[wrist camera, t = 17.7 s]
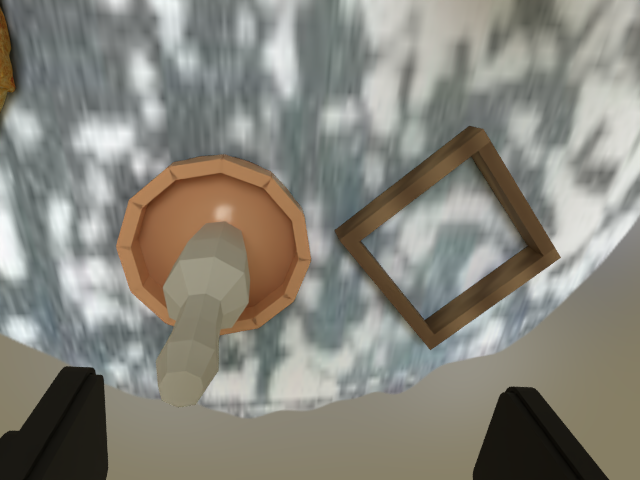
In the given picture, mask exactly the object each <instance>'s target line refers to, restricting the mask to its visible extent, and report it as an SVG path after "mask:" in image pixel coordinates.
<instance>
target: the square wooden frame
mask: <svg viewBox="0 0 640 480" xmlns="http://www.w3.org/2000/svg"><path fill="white" fill-rule="evenodd" d="M469 157H472V159H473V160H474V162H475V163H476V165H477V167H478V168H479V170H480V171H481V173H482V175H483V176H484V178H485V179H486V181H487V182H488V184H489V186H490V187H491V189H492V190H493V192H494V194H495V195H496V197H497V198H498V200H499V201H500V203H501V205H502V206H503V208H504V209H505V211H506V213H507V214H508V216H509V217H510V219H511V220H512V222H513V224H514V225H515V227H516V228H517V230H518V232H519V233H520V235H521V236H522V238H523V240H524V241H525V243H526V244H527V247H526V248H524V249H523V250H522V251H520V252H519V253H517V254H516V255H515V256H513V257H512V258H511V259H509V260H508V261H506V262H505V263H504V264H502V265H501V266H499V267H498V268H497V269H495V270H494V271H493V272H491V273H490V274H488V275H487V276H486V277H484V278H483V279H481V280H480V281H479V282H477V283H476V284H474V285H473V286H472V287H470V288H469V289H468V290H466V291H465V292H463V293H462V294H461V295H459V296H458V297H456V298H455V299H454V300H452V301H451V302H450V303H448V304H447V305H445V306H444V307H443V308H441V309H440V310H438V311H437V312H436V313H434V314H433V315H431V316H430V317H429V318H427V319H426V320H424V319H423V318H422V316H421V315H420V314H419V313H418V311H417V310H416V309H415V308H414V306H413V305H412V304H411V303H410V301H409V300H408V299H407V298H406V296H405V295H404V294H403V293H402V291H401V290H400V289H399V288H398V286H397V285H396V284H395V283H394V282H393V280H392V279H391V278H390V277H389V275H388V274H387V273H386V272H385V270H384V269H383V268H382V267H381V265H380V264H379V263H378V262H377V260H376V259H375V258H374V257H373V255H372V254H371V253H370V252H369V251H368V249H367V248H366V247H365V246H364V244H363V243H362V242H361V240H362V239H363V238H365V237H366V236H367V235H369V234H370V233H371V232H373V231H374V230H375V229H377V228H378V227H379V226H380V225H382V224H383V223H384V222H386V221H387V220H388V219H390V218H391V217H392V216H394V215H395V214H396V213H397V212H399V211H400V210H401V209H403V208H404V207H405V206H407V205H408V204H409V203H411V202H412V201H413V200H414V199H416V198H417V197H418V196H420V195H421V194H422V193H424V192H425V191H426V190H428V189H429V188H430V187H431V186H433V185H434V184H435V183H437V182H438V181H439V180H441V179H442V178H443V177H445V176H446V175H447V174H448V173H450V172H451V171H452V170H454V169H455V168H456V167H458V166H459V165H460V164H462V163H463V162H464V161H465V160H467V159H468V158H469ZM335 232H336V234H337V236H338V238H339V240H340V242H341V243H342V244H343V245H344V246H345V248H346V249H347V250H348V251H349V252H350V254H351V255H352V256H353V257H354V258H355V260H356V261H357V262H358V263H359V264H360V266H361V267H362V268H363V269H364V271H365V272H366V273H367V274H368V275H369V277H370V278H371V279H372V280H373V281H374V283H375V284H376V285H377V286H378V287H379V289H380V290H381V291H382V292H383V293H384V295H385V296H386V297H387V298H388V299H389V301H390V302H391V303H392V304H393V306H394V307H395V308H396V309H397V310H398V312H399V313H400V314H401V315H402V316H403V318H404V319H405V320H406V321H407V322H408V324H409V325H410V326H411V327H412V328H413V330H414V331H415V332H416V333H417V335H418V336H419V337H420V338H421V339H422V341H423V342H424V343H425V344H426V345H427V347H428V348H429V349H430V350H431V349H433V348H434V347H436V346H437V345H438V344H440V343H441V342H443V341H444V340H445V339H447V338H448V337H450V336H451V335H453V334H454V333H455V332H457V331H458V330H460V329H461V328H462V327H464V326H465V325H467V324H468V323H469V322H471V321H472V320H474V319H475V318H476V317H478V316H479V315H481V314H482V313H484V312H485V311H486V310H488V309H489V308H491V307H492V306H493V305H495V304H496V303H498V302H499V301H500V300H502V299H503V298H505V297H506V296H507V295H509V294H510V293H512V292H513V291H515V290H516V289H517V288H519V287H520V286H522V285H523V284H524V283H526V282H527V281H529V280H530V279H531V278H533V277H534V276H536V275H537V274H538V273H540V272H541V271H543V270H544V269H546V268H547V267H548V266H550V265H551V264H553V263H554V262H555V261H557V260H558V259H560V258H561V257H560V255H559V254H558V252H557V250H556V249H555V247H554V245H553V244H552V242H551V240H550V239H549V237H548V235H547V234H546V232H545V230H544V229H543V227H542V225H541V224H540V222H539V221H538V219H537V217H536V216H535V214H534V212H533V211H532V209H531V207H530V206H529V204H528V202H527V201H526V199H525V197H524V196H523V194H522V192H521V191H520V189H519V187H518V186H517V184H516V182H515V181H514V179H513V177H512V176H511V174H510V172H509V171H508V169H507V167H506V166H505V164H504V162H503V161H502V159H501V157H500V156H499V154H498V153H497V151H496V149H495V148H494V146H493V144H492V143H491V141H490V139H489V138H488V136H487V134H486V133H485V131H484V129H481V128H476V127H472V126H469V127H467V128H466V129H465V130H463V131H462V132H461V133H460V134H458V135H457V136H456V137H454V138H453V139H452V140H451V141H449V142H448V143H447V144H445V145H444V146H443V147H442V148H440V149H439V150H438V151H436V152H435V153H434V154H432V155H431V156H430V157H429V158H427V159H426V160H425V161H423V162H422V163H421V164H420V165H418V166H417V167H416V168H414V169H413V170H412V171H411V172H409V173H408V174H407V175H405V176H404V177H403V178H402V179H400V180H399V181H398V182H396V183H395V184H394V185H392V186H391V187H390V188H389V189H387V190H386V191H385V192H383V193H382V194H381V195H380V196H378V197H377V198H376V199H374V200H373V201H372V202H371V203H369V204H368V205H367V206H365V207H364V208H363V209H362V210H360V211H359V212H358V213H356V214H355V215H354V216H352V217H351V218H350V219H349V220H347V221H346V222H345V223H343V224H342V225H341V226H340V227H338V228H337V229H336V230H335Z"/></svg>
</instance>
